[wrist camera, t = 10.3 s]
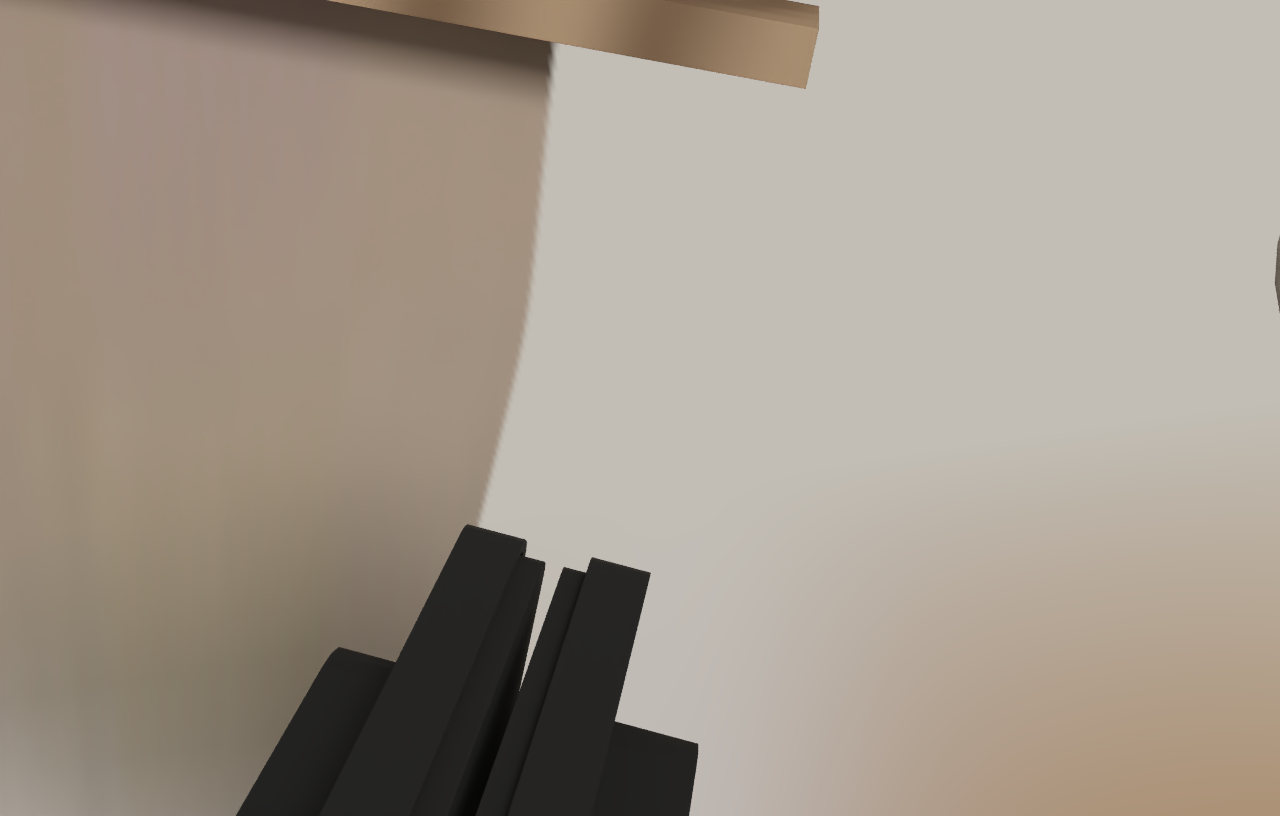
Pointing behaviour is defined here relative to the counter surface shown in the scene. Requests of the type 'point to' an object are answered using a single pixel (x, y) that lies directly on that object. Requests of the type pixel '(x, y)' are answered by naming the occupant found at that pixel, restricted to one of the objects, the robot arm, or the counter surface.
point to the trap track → (650, 29)
